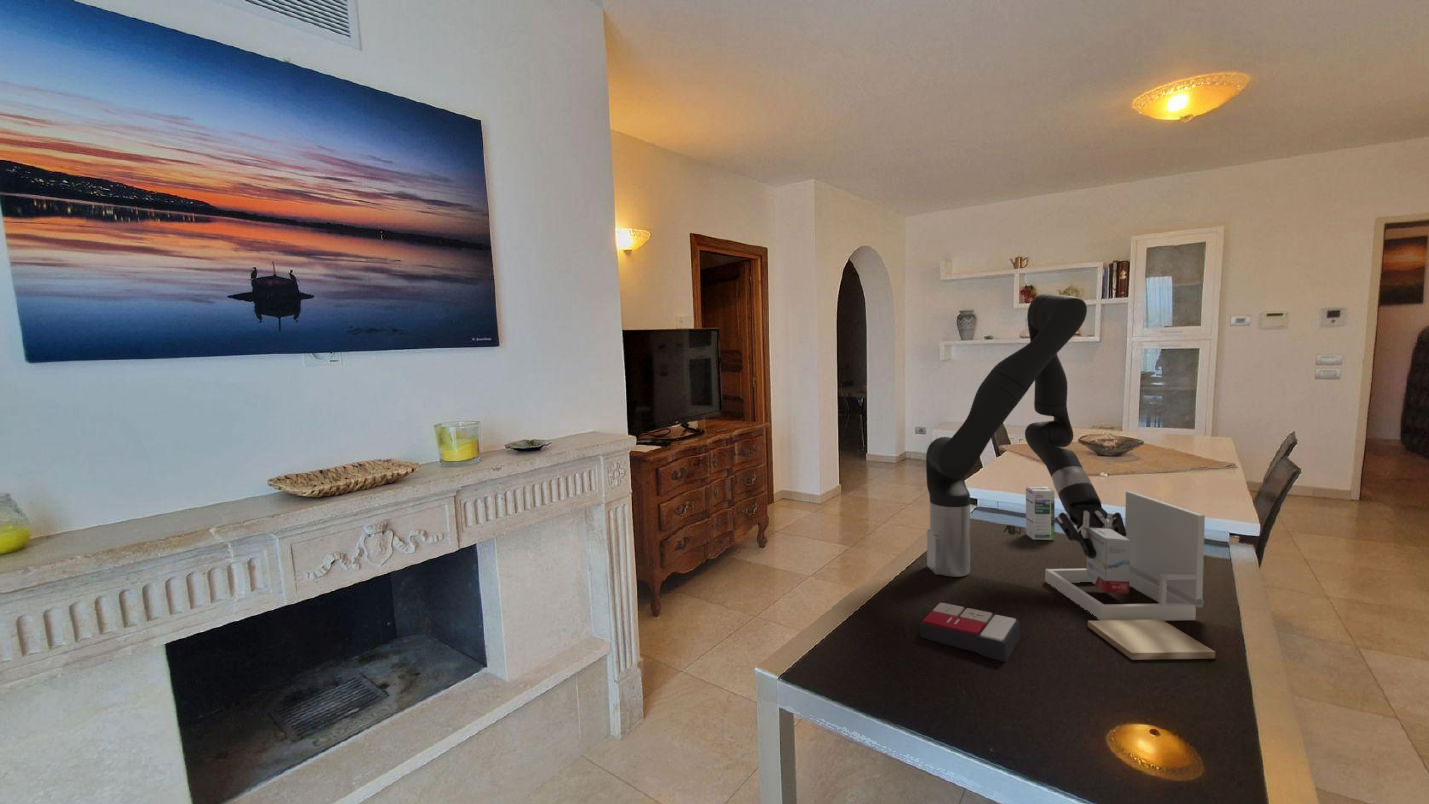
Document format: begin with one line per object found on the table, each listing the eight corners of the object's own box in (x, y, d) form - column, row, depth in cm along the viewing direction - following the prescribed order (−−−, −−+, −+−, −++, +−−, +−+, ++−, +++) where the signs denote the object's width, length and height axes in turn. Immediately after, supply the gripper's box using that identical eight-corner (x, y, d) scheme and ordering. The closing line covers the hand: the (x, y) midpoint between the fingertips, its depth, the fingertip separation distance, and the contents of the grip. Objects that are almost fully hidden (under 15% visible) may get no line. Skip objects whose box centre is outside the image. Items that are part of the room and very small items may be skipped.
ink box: (1130, 594, 116) (1132, 539, 115) (1104, 593, 117) (1105, 538, 116) (1109, 578, 124) (1111, 527, 123) (1085, 577, 125) (1086, 526, 124)
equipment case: (1101, 621, 110) (1103, 517, 108) (1045, 581, 130) (1046, 493, 128) (1202, 619, 109) (1205, 515, 107) (1130, 580, 129) (1132, 491, 127)
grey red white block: (938, 599, 114) (1019, 616, 104) (939, 620, 114) (1020, 638, 105) (918, 619, 106) (1004, 639, 96) (920, 641, 106) (1005, 663, 96)
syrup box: (1033, 540, 158) (1033, 490, 157) (1025, 533, 164) (1025, 485, 163) (1054, 540, 157) (1055, 490, 156) (1046, 534, 163) (1046, 485, 162)
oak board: (1131, 659, 96) (1131, 652, 96) (1087, 626, 108) (1087, 620, 108) (1215, 658, 95) (1215, 651, 95) (1161, 625, 107) (1161, 619, 107)
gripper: (1051, 481, 129) (1081, 549, 118) (1114, 481, 129) (1150, 549, 118) (1037, 498, 135) (1065, 564, 124) (1097, 498, 134) (1131, 564, 123)
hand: (1106, 556), depth 121 cm, fingers closed on ink box, 5 cm apart
